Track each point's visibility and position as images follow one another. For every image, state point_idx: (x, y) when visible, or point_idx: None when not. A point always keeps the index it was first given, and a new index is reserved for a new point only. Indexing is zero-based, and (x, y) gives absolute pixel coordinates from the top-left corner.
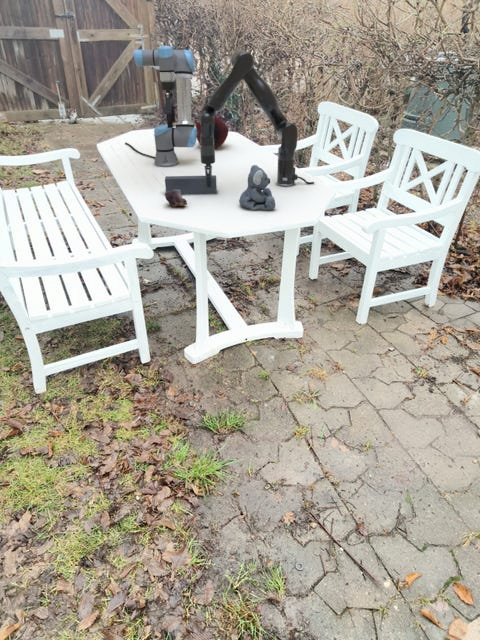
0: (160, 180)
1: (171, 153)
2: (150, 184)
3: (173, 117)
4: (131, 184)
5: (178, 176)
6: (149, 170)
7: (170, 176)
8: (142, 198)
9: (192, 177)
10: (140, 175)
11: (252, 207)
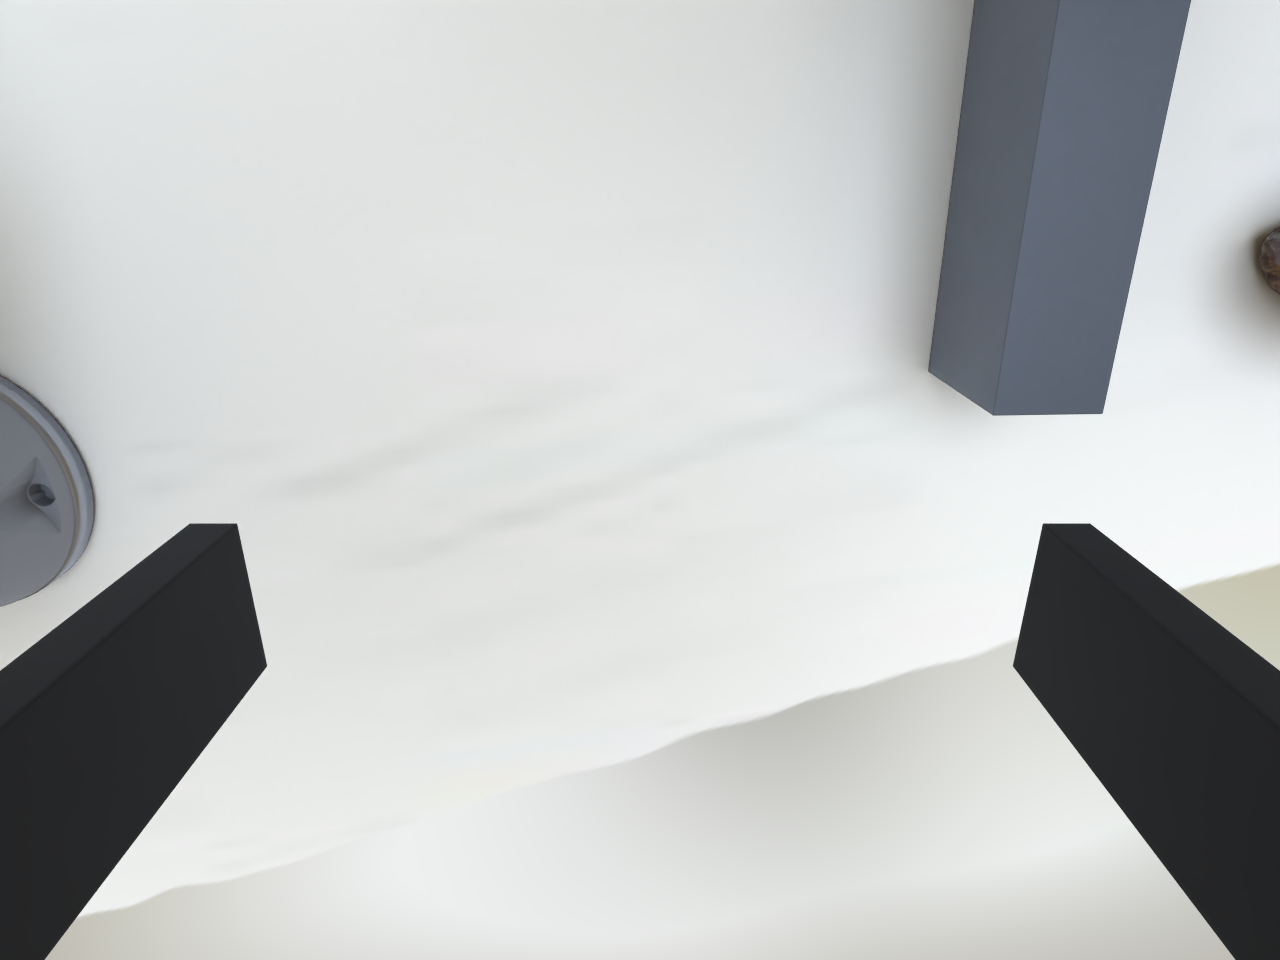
0: (563, 473)
1: None
2: (683, 548)
3: (153, 657)
4: (672, 696)
5: (1033, 257)
6: None
7: (1009, 358)
8: None
9: (1127, 52)
10: (410, 665)
11: None
